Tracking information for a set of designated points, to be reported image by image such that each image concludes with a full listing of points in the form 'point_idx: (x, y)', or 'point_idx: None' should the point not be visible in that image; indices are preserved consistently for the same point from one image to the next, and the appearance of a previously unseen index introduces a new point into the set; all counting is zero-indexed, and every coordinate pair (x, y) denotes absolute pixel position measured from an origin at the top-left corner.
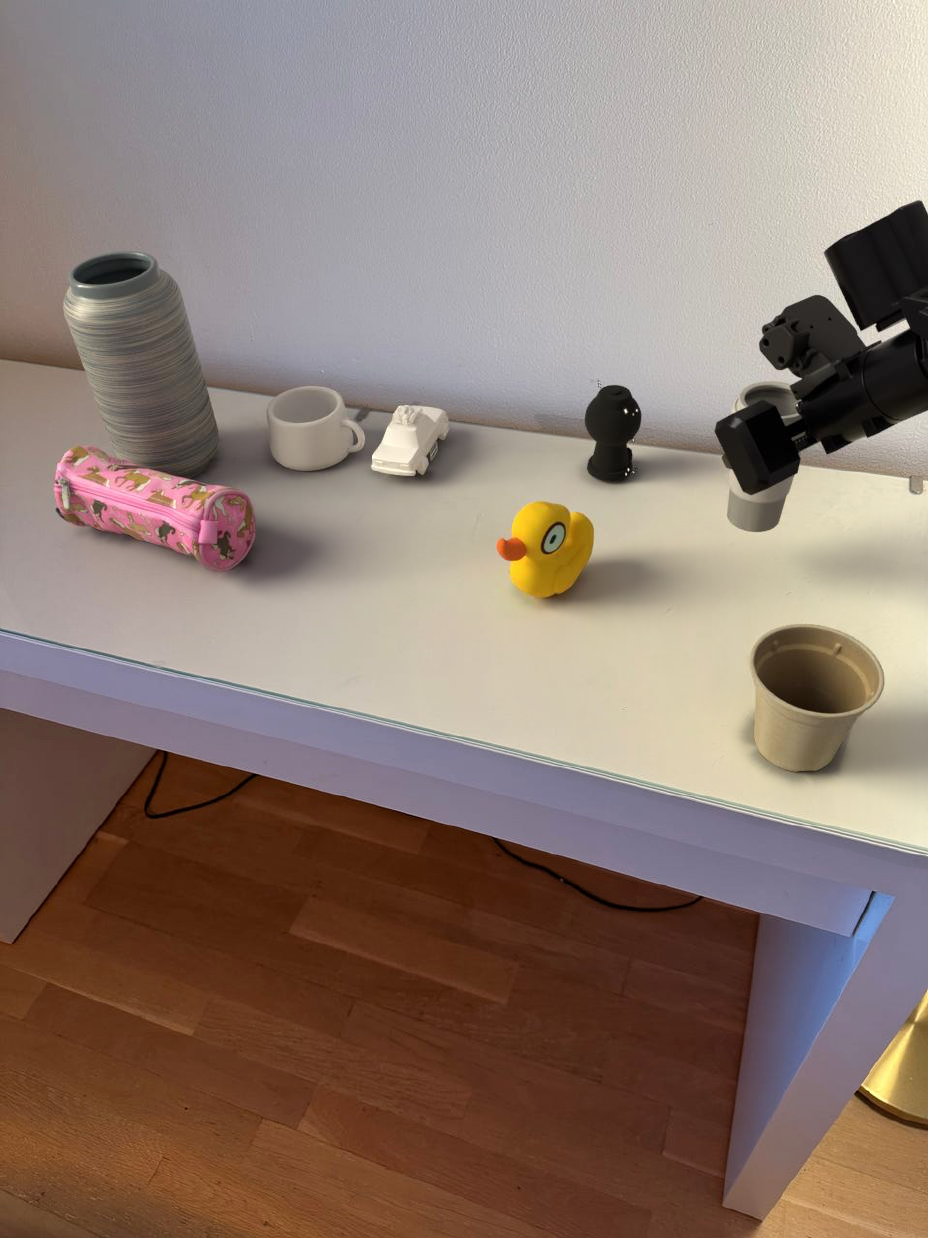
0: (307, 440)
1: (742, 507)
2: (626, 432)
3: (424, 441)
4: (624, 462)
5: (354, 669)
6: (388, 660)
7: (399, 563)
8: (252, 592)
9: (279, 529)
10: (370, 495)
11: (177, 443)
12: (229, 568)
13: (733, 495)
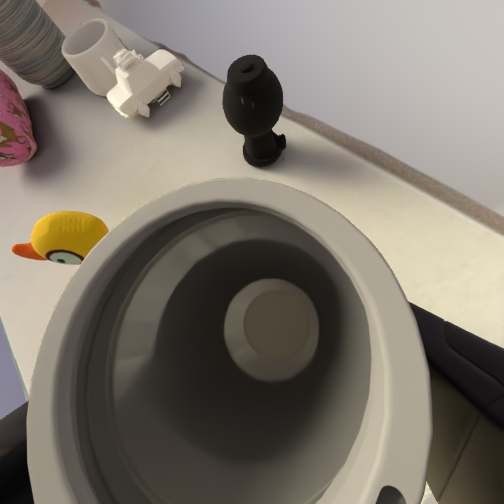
0: (80, 71)
1: (232, 340)
2: (249, 127)
3: (141, 88)
4: (266, 151)
5: (15, 269)
6: (31, 272)
7: (88, 192)
8: (22, 184)
9: (61, 140)
10: (114, 126)
11: (16, 60)
12: (16, 164)
13: (228, 318)
